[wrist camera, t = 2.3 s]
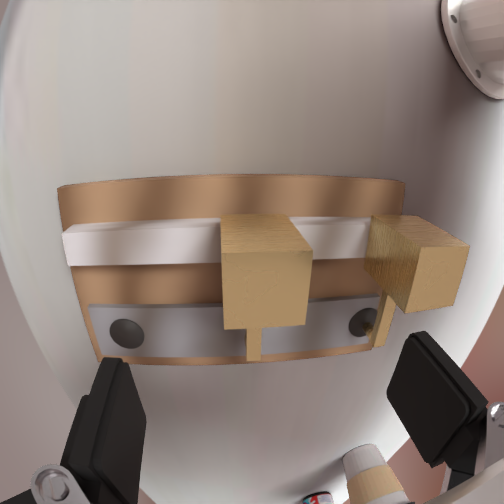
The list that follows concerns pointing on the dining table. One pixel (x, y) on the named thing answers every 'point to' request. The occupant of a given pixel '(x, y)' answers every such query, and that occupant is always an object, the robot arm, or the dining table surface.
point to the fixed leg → (411, 268)
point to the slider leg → (263, 275)
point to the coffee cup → (371, 478)
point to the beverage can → (319, 498)
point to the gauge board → (216, 263)
